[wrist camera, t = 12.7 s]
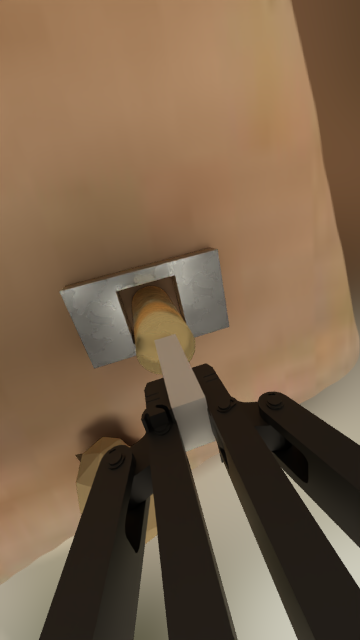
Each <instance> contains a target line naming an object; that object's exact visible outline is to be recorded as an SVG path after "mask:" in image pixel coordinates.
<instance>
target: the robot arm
mask: <svg viewBox="0 0 360 640" xmlns="http://www.w3.org/2000/svg"><path fill="white" fill-rule="evenodd" d="M154 342H155V346H156V350H157V354H158V357H159V361H160V365H161V369H162V373H163V377H164V378H161V379H158V380H155V381H152V382H149V383H147V385H146V387H145V390H144V391H145V400H146V409H145V411H144V412H143V414H142V418H141V420H142V423H143V425H144V428H145V430H146V434H145V435H144V437H143V438H142V439H141V440H140V441H138V442H137V443H136V444H134V445H133V446H131V447H128V446H127V445H118V446H114V447H113V448H111V449H110V450H108V451H107V452H106V453H105V454H104V456H103V457H102V459H101V461H100V463H99V466H98V469H97V472H96V475H95V478H94V481H93V484H92V487H91V489H90V492H89V495H88V498H87V501H86V504H85V507H84V510H83V513H82V516H81V519H80V522H79V525H78V527H77V530H76V533H75V536H74V539H73V542H72V545H71V548H70V551H69V554H68V557H67V560H66V563H65V566H64V568H63V571H62V574H61V577H60V580H59V583H58V586H57V589H56V592H55V595H54V597H53V600H52V603H51V606H50V609H49V613H48V615H47V618H46V621H45V624H44V627H43V630H42V632H41V635H40V638H39V640H133V639H134V630H135V622H136V614H137V605H138V597H139V589H140V581H141V572H142V563H143V556H144V547H145V539H146V531H147V523H148V514H149V506H150V496H151V495H152V494H153V496H154V506H155V515H156V524H157V534H158V543H159V552H160V562H161V570H162V581H163V589H164V599H165V609H166V617H167V627H168V637H169V640H237V636H236V632H235V628H234V625H233V621H232V617H231V614H230V610H229V606H228V603H227V599H226V596H225V592H224V588H223V585H222V581H221V577H220V574H219V571H218V567H217V563H216V559H215V555H214V552H213V549H212V545H211V541H210V538H209V534H208V530H207V527H206V523H205V520H204V515H203V512H202V508H201V505H200V501H199V498H198V494H197V490H196V486H195V483H194V479H193V476H192V472H191V468H190V464H189V461H188V458H187V455H186V452H187V451H189V450H192V449H195V448H198V447H200V446H203V445H206V444H208V443H211V442H214V441H215V439H216V441H217V444H218V448H219V452H220V457H221V461H222V462H224V464H225V466H226V469H227V471H228V474H229V476H230V478H231V481H232V483H233V486H234V488H235V490H236V492H237V495H238V498H239V500H240V502H241V505H242V507H243V509H244V512H245V514H246V517H247V519H248V521H249V524H250V526H251V529H252V531H253V533H254V536H255V538H256V540H257V543H258V545H259V548H260V550H261V553H262V555H263V557H264V560H265V562H266V564H267V567H268V569H269V572H270V574H271V576H272V579H273V581H274V584H275V586H276V588H277V591H278V593H279V596H280V598H281V600H282V603H283V605H284V608H285V610H286V612H287V615H288V617H289V620H290V622H291V624H292V627H293V629H294V631H295V634H296V636H297V638H298V640H360V588H359V587H358V585H357V584H356V582H355V581H354V579H353V578H352V576H351V575H350V573H349V572H348V570H347V568H346V567H345V565H344V564H343V562H342V561H341V559H340V558H339V556H338V555H337V553H336V551H335V550H334V548H333V547H332V545H331V544H330V542H329V541H328V539H327V538H326V536H325V534H324V533H323V531H322V530H321V529H320V527H319V525H318V524H317V522H316V521H315V519H314V518H313V516H312V515H311V513H310V512H309V510H308V508H307V507H306V505H305V504H304V502H303V501H302V499H301V498H300V496H299V494H298V493H297V492H296V490H295V489H294V487H293V485H292V484H291V482H290V481H289V479H288V478H287V476H286V474H285V473H284V471H285V472H286V473H287V474H288V475H289V476H290V477H291V478H292V479H293V480H294V481H295V482H296V483H297V484H298V485H299V486H300V487H301V488H302V489H303V490H304V491H305V492H306V493H307V494H308V495H309V496H310V497H311V498H312V500H313V501H315V503H317V505H318V506H319V507H320V508H321V509H322V510H323V511H324V512H325V513H326V514H327V515H328V516H329V517H330V518H331V519H332V520H333V521H334V522H335V523H336V524H337V525H338V526H339V527H340V528H341V529H342V530H343V531H344V532H345V533H346V534H347V535H348V536H349V537H350V538H351V539H352V540H353V541H354V542H355V543H356V544H357V546H359V547H360V445H358V444H357V443H355V442H354V441H352V440H351V439H350V438H348V437H347V436H345V435H344V434H342V433H341V432H339V431H338V430H336V429H335V428H333V427H332V426H330V425H328V424H327V423H326V422H324V421H323V420H321V419H320V418H318V417H317V416H316V415H314V414H312V413H311V412H310V411H308V410H307V409H305V408H304V407H302V406H301V405H299V404H298V403H296V402H295V401H293V400H292V399H290V398H289V397H287V396H286V395H284V394H282V393H279V392H267V393H264V394H262V395H261V396H260V397H259V400H258V402H239V401H237V400H236V399H235V398H233V397H231V396H230V394H229V393H228V391H227V390H226V388H225V387H224V385H223V383H222V382H221V380H220V379H219V377H218V375H217V374H216V372H215V371H214V369H213V367H211V366H209V365H208V364H203V365H199V366H196V367H193V368H191V366H190V364H189V362H188V360H187V358H186V355H185V353H184V351H183V349H182V347H181V345H180V343H179V341H178V339H177V336H176V334H173V335H170V336H167V337H164V338H160V339H157V340H154ZM282 469H283V470H284V471H283V470H282Z"/></svg>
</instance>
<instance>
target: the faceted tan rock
mask: <svg viewBox="0 0 360 640" xmlns="http://www.w3.org/2000/svg"><path fill="white" fill-rule="evenodd" d="M118 445H127V444H126V443H124V442H123V441H122V440H121V439H119V438H110V437H102V438H101V439H100V440H98V441H97V442H96V443H95V444H94V445H93V446H91V447H90V448H89V449H88V450H87V451H86V452H85V453H83V454H78V455H76V457H77V458H78V459H79V460H80V462H81V463H80V467H79V471H78V476H77V480H76V487H77V494H78V501H79V508H80V513H81V514H82V513H83V510H84V507H85V504H86V501H87V498H88V495H89V492H90V489H91V487H92V484H93V481H94V478H95V475H96V472H97V469H98V466H99V463H100V461H101V459H102V457H103V456H104V454H105V453H106V452H107V451H108V450H110V449H111V448H113V447H114V446H118ZM127 446H128V445H127ZM128 447H131V446H128ZM156 535H158V534H157V524H156V515H155V506H154V496H153V494H152V495H151V496H150V506H149V514H148V523H147V531H146V539H145V544H146V543H147V542H148V541H150V540H151V539H152V538H154V537H155V536H156Z"/></svg>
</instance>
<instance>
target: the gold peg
mask: <svg viewBox="0 0 360 640" xmlns="http://www.w3.org/2000/svg"><path fill="white" fill-rule="evenodd" d="M132 313H133V325H134V337H135V348H136V356H137V359H138V361H139V363H140V364H141V365H142V366H143V367H144V368H145V369H146V370H148V371H150V372H152V373H155V374H163V373H162V369H161V365H160V361H159V357H158V354H157V350H156V346H155V342H154V340H157V339H160V338H164V337H167V336H170V335H173V334H176V336H177V339H178V341H179V343H180V345H181V347H182V349H183V351H184V353H185V355H186V358H187V360H188V362H190V360H191V359H192V357H193V355H194V352H195V339H194V336H193V334H192V332H191V330H190V329H189V327H188V326H187V324H186V323H185V321H184V320H183V318H182V317H181V315H180V313H179V312H178V310H177V309H176V307H175V306H174V304H173V303H172V301H171V300H170V298H169V297H168V295H167V293H166V292H165V291H164V290H163V289H161V288H159V287H156V286H146V287H143V288H141V289H140V290H138V291H137V292H136V294H135V295H134V297H133V300H132Z"/></svg>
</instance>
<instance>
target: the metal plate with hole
mask: <svg viewBox="0 0 360 640" xmlns="http://www.w3.org/2000/svg"><path fill="white" fill-rule="evenodd" d="M170 276H172V279H173V283H174V287H175V291H176V296H177V300H178V304H179V308H180V312H181V316H182V318H183V320H184V321H185V323H186V324H187V326H188V327H189V329H190V330H191V332H192V334H193V336H194V337H198V336H201V335H204V334H207V333H211V332H214V331H217V330H220V329H224V328H227V327H229V321H228V315H227V308H226V301H225V295H224V288H223V282H222V275H221V269H220V262H219V255H218V249H214V248H206V249H202V250H199V251H195V252H191V253H187V254H184V255H180V256H176V257H172V258H168V259H165V260H161V261H157V262H153V263H150V264H146V265H142V266H138V267H135V268H131V269H127V270H123V271H119V272H116V273H112V274H108V275H104V276H101V277H97V278H93V279H89V280H85V281H82V282H78V283H74V284H70V285H67V286H65V287H64V288H63V289H62V290H61V291H60V294H61V296H62V298H63V300H64V303H65V305H66V307H67V309H68V311H69V314H70V316H71V318H72V320H73V323H74V325H75V327H76V329H77V331H78V334H79V336H80V338H81V340H82V342H83V345H84V347H85V349H86V351H87V354H88V356H89V358H90V360H91V362H92V365H93V367H94V368H98V367H101V366H104V365H107V364H111V363H114V362H117V361H120V360H123V359H127V358H130V357H133V356H136V348H135V337H134V335H133V333H132V330H131V327H130V324H129V321H128V319H127V316H126V313H125V310H124V307H123V304H122V301H121V298H120V295H119V292H118V291H119V290H123V289H126V288H130V287H134V286H137V285H141V284H144V283H148V282H152V281H155V280H159V279H163V278H166V277H170Z"/></svg>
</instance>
